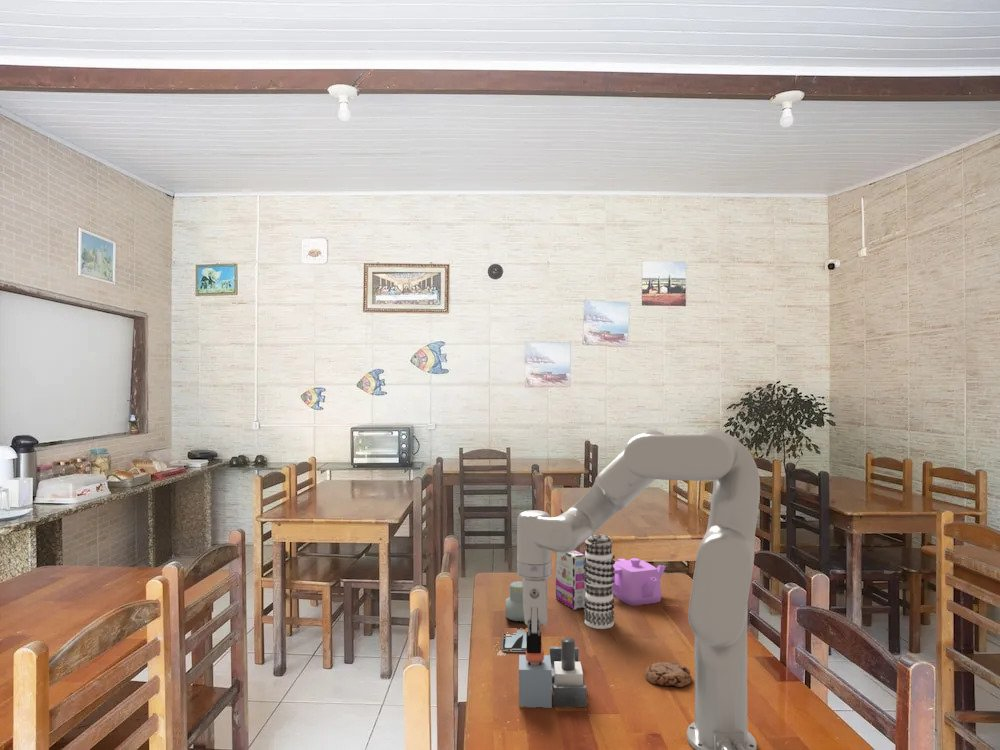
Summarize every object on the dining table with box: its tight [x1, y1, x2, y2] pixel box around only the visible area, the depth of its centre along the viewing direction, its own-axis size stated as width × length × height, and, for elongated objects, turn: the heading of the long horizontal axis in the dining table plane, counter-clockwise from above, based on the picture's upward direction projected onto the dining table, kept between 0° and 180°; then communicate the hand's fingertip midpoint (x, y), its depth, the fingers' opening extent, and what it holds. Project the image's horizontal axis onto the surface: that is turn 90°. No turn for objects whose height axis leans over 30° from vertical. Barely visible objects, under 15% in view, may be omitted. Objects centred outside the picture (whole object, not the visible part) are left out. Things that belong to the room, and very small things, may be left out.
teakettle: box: [612, 557, 666, 606], centre depth 193 cm, size 17×17×12 cm
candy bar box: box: [555, 549, 586, 611], centre depth 188 cm, size 11×5×16 cm, turn 25°
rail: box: [549, 646, 588, 708], centre depth 138 cm, size 20×7×4 cm, turn 178°
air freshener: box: [505, 580, 525, 623], centre depth 176 cm, size 11×8×10 cm
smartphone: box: [501, 628, 527, 651], centre depth 161 cm, size 7×1×15 cm
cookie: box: [645, 662, 693, 688], centre depth 140 cm, size 10×11×3 cm
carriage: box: [552, 637, 586, 694], centre depth 133 cm, size 6×7×10 cm
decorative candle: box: [583, 533, 616, 630], centre depth 173 cm, size 9×9×25 cm
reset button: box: [525, 648, 545, 665], centre depth 131 cm, size 4×4×6 cm
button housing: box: [518, 654, 553, 709], centre depth 131 cm, size 7×7×8 cm
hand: (533, 651), depth 132 cm, fingers closed
